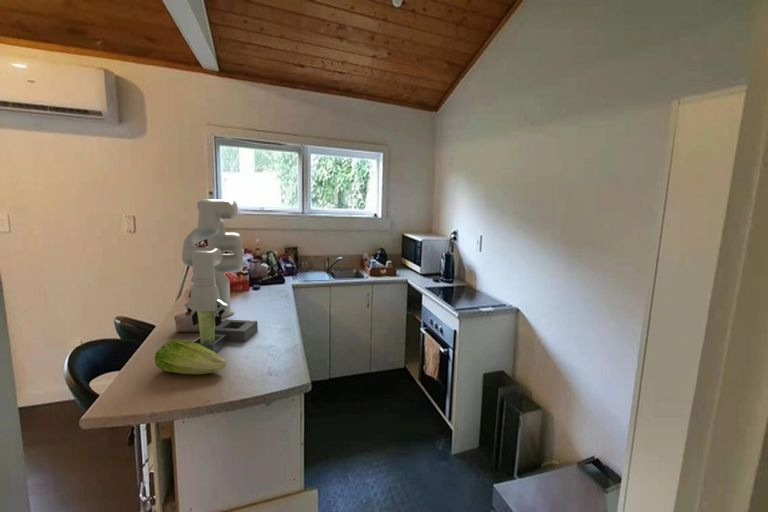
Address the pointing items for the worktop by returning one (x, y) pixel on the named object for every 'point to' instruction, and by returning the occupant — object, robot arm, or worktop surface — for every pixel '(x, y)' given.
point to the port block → (237, 330)
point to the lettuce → (188, 358)
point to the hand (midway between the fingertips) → (207, 324)
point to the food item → (185, 323)
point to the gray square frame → (217, 345)
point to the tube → (206, 327)
